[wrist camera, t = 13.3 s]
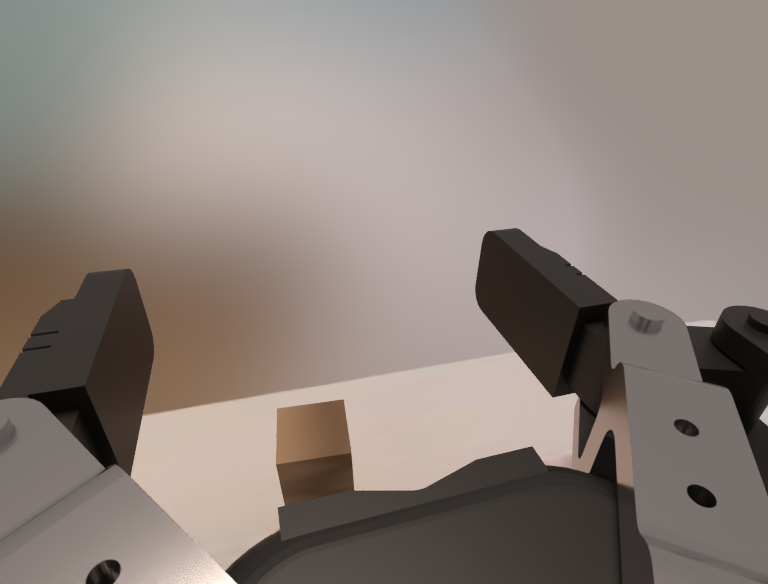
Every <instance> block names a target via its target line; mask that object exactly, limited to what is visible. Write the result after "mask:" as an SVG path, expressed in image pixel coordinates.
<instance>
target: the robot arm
mask: <svg viewBox="0 0 768 584" xmlns="http://www.w3.org/2000/svg"><path fill="white" fill-rule="evenodd" d="M475 288H476V289H475V291H476V299H477V302H478V305H479V307H480V309H481V310H482V311H483V313H484V314H485V315H486V316H487V318H488V319H489V320H490V321H491V323H492V324H493V325H494V326H495V327H496V329H497V330H498V331H499V332H500V334H501V335H502V336H503V337H504V338H505V340H506V341H507V342H508V343H509V345H510V346H511V347H512V348H513V349H514V351H515V352H516V353H517V354H518V356H519V357H520V358H521V359H522V360H523V362H524V363H525V364H526V365H527V367H528V368H529V369H530V370H531V371H532V373H533V374H534V375H535V376H536V378H537V379H538V380H539V381H540V383H541V384H542V385H543V386H544V387H545V389H546V390H547V391H548V392H549V394H550V395H551V396H552V397H557V396H562V395H566V394H571V393H576V394H577V395H578V400H577V402H576V405H575V410H574V430H573V452H572V469H570V468H565V467H557V466H548V465H545V464H544V463H543V461H542V460H541V458H540V457H539V455H538V454H537V453H536V451H535V450H534V448H533V447H528V448H523V449H519V450H515V451H511V452H507V453H503V454H498V455H494V456H490V457H486V458H482V459H478V460H475V461H473V462H471V463H470V464H468V465H466V466H464V467H462V468H461V469H459V470H457V471H455V472H453V473H452V474H450V475H448V476H446V477H444V478H442V479H441V480H439V481H437V482H435V483H433V484H432V485H430V486H428V487H426V488H424V489H421V490H414V491H345V492H341V493H336V494H332V495H328V496H324V497H320V498H316V499H312V500H307V501H303V502H299V503H295V504H291V505H287V506H282V507H278V514H279V523H280V530H279V531H278V532H276V533H274V534H272V535H270V536H268V537H267V538H265V539H264V540H262V541H261V542H259V543H258V544H256V545H255V546H253V547H252V548H250V549H249V550H248V551H247V552H245V553H244V554H243V555H242V556H241V557H240V558H238V559H237V560H236V561H235V562H234V563H233V564H232V565H231V566H230V567H229V568H228V569H227V570H226V571H224V570H223V569H222V568H221V567H220V566H219V565H218V564H217V563H216V562H215V561H214V560H213V559H212V558H211V557H210V556H209V555H208V554H207V553H206V552H205V551H204V550H203V549H202V548H201V547H200V546H199V545H198V544H197V543H196V542H195V541H194V540H193V539H192V538H191V537H190V536H189V535H188V534H187V533H186V532H185V531H184V530H183V529H182V528H181V527H180V526H179V525H178V524H177V523H176V522H175V521H174V520H173V519H172V518H171V517H170V516H169V515H168V514H167V513H166V512H165V511H164V510H163V509H162V508H161V507H160V506H159V505H158V504H157V503H156V502H155V501H154V500H153V499H152V498H151V497H150V496H149V495H148V494H147V493H146V492H145V491H144V490H143V489H142V488H141V487H140V486H139V485H138V484H137V483H136V482H135V481H134V480H133V479H132V478H131V477H130V476H131V471H132V465H133V460H134V455H135V450H136V445H137V440H138V435H139V430H140V425H141V420H142V414H143V409H144V404H145V399H146V394H147V389H148V383H149V379H150V374H151V369H152V363H153V358H154V344H153V336H152V332H151V328H150V325H149V321H148V318H147V315H146V312H145V308H144V305H143V302H142V299H141V296H140V292H139V289H138V285H137V282H136V279H135V277H134V274H133V273H132V271H131V270H130V269H122V270H113V271H103V272H93V273H88V274H87V275H86V277H85V279H84V281H83V283H82V285H81V287H80V289H79V291H78V293H77V295H76V297H75V299H69V300H61V301H60V302H59V303H58V304H56V305H55V306H54V307H53V308H51V309H50V310H49V311H47V312H46V313H45V314H44V315H42V316H41V317H40V319H39V321H38V323H37V325H36V326H35V328H34V330H33V331H32V333H31V338H28V340H27V342H26V344H25V345H24V347H23V349H22V350H23V353H20V354H19V356H18V358H17V359H16V361H15V363H14V365H13V367H12V368H11V370H10V372H9V373H8V375H7V377H6V379H5V380H4V382H3V384H2V386H1V387H0V584H768V426H767V425H766V424H765V423H763V422H762V421H761V420H760V419H759V418H760V416H761V415H762V413H763V412H764V410H765V408H766V407H767V405H768V311H767V310H763V309H759V308H755V307H748V306H731V307H728V308H725V309H724V310H723V312H722V313H721V315H720V317H719V320H718V321H717V323H716V325H715V327H697V326H686V324H685V323H684V322H683V320H682V319H681V318H680V317H679V316H677V315H676V314H675V313H673V312H671V311H669V310H668V309H665V308H664V307H661V306H659V305H656V304H652V303H650V302H645V301H640V300H620V301H618V300H616V299H615V298H614V297H613V296H611V295H610V294H609V293H608V292H606V291H605V290H604V289H602V288H601V287H600V286H598V285H597V284H596V283H595V282H593V281H592V280H591V279H590V278H588V277H587V276H586V275H582V272H580V271H579V270H578V269H577V268H575V267H574V266H571V264H570V263H569V262H567V261H566V260H565V259H564V258H562V257H561V256H560V255H559V254H557V253H555V252H553V251H551V250H548V249H546V248H543V247H541V246H540V245H538V244H537V243H536V242H535V241H534V240H532V239H531V238H530V237H529V236H527V235H526V234H525V233H523V232H522V231H521V230H519V229H517V228H514V229H504V230H496V231H488V232H487V233H486V234H485V235H484V237H483V242H482V247H481V254H480V260H479V267H478V273H477V280H476V287H475Z"/></svg>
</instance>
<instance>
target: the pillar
mask: <svg viewBox="0 0 768 584" xmlns="http://www.w3.org/2000/svg"><path fill="white" fill-rule="evenodd" d="M276 466H277V470H278V475H279V480H280V485H281V489H282V494H283V499H284V503H285V506H287V505H291V504H295V503H299V502H303V501H307V500H312V499H316V498H320V497H324V496H328V495H332V494H336V493H341V492H345V491H354V483H353V469H352V456H351V448H350V441H349V434H348V427H347V420H346V413H345V406H344V400H337V401H330V402H322V403H315V404H308V405H301V406H293V407H286V408H279V409H277V450H276Z"/></svg>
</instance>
